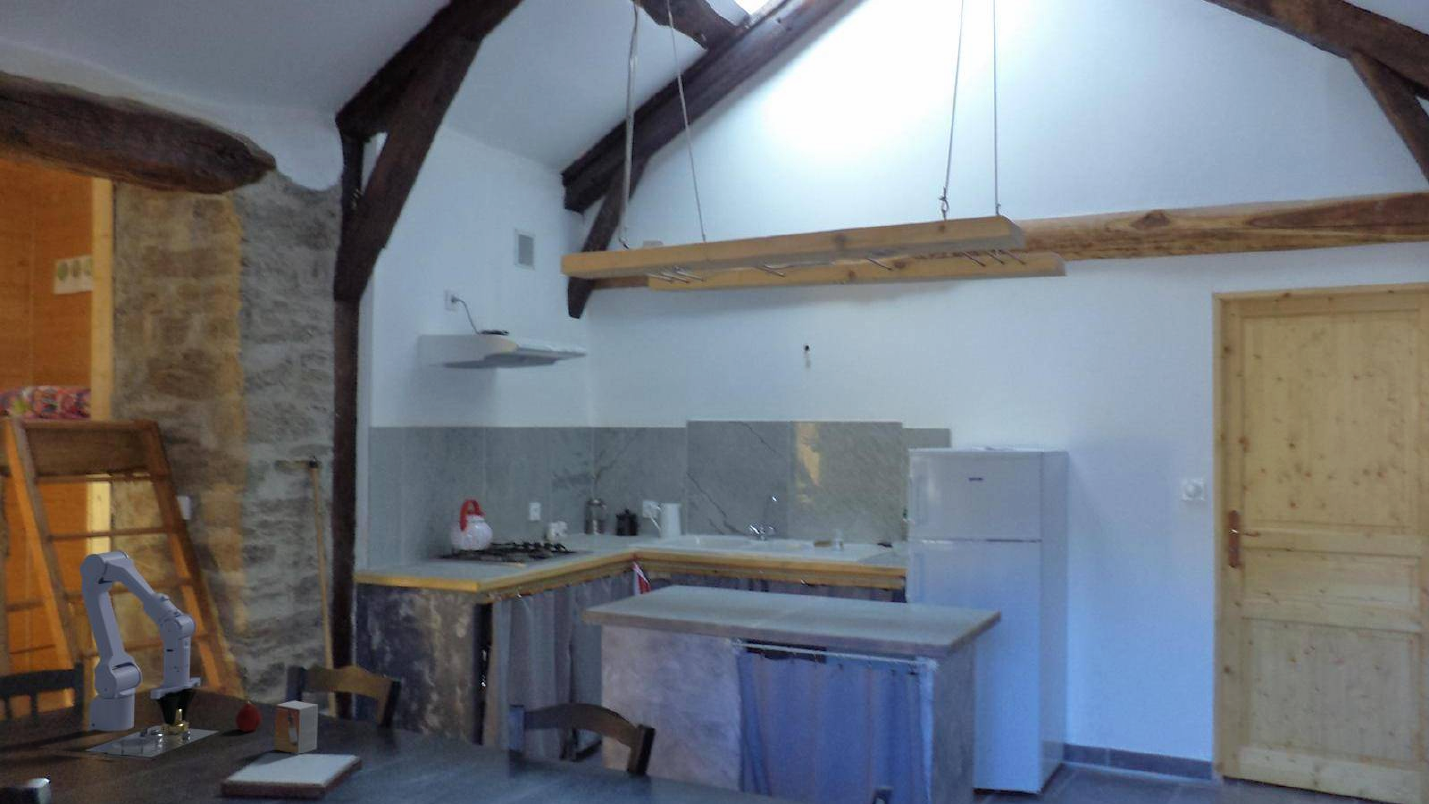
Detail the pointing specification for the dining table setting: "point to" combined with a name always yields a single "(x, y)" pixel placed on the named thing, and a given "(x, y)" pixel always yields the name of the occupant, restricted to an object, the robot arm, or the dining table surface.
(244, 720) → the onion
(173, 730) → the gear
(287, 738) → the small box
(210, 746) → the dining table surface
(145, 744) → the carrier plate
